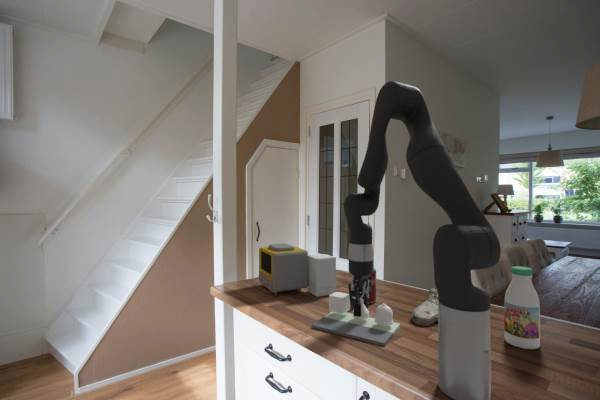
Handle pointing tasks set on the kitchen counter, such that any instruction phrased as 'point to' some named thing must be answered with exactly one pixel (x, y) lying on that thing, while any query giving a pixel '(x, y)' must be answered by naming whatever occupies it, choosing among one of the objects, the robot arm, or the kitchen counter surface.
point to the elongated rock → (427, 310)
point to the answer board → (357, 328)
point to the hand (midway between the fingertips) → (361, 312)
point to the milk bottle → (522, 310)
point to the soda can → (373, 291)
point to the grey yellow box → (283, 267)
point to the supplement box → (321, 274)
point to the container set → (342, 304)
